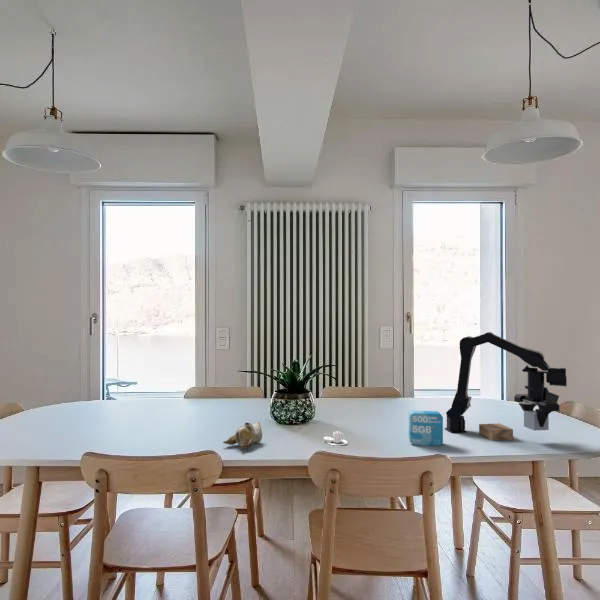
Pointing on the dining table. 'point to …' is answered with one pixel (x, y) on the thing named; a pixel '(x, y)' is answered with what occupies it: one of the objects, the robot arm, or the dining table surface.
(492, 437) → the walnut block
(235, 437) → the ceramic sculpture
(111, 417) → the dining table surface
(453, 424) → the robot arm
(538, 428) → the slate cube
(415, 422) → the data package
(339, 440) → the teacup and saucer
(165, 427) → the dining table surface
